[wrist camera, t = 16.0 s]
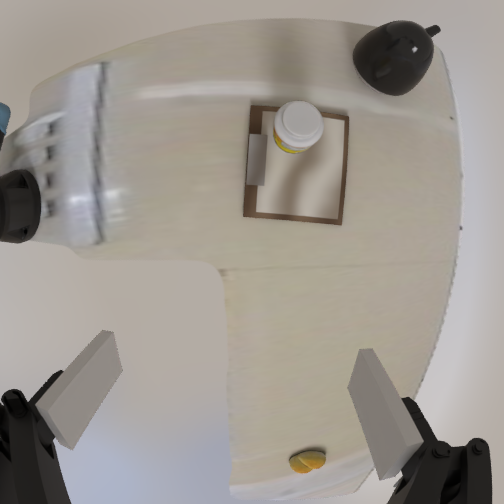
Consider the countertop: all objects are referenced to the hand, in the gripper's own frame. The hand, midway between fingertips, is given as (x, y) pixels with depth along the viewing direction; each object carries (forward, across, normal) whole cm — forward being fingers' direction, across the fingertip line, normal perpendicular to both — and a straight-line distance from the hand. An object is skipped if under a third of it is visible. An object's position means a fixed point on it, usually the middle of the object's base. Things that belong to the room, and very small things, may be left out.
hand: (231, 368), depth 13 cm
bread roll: (+27, +16, -54) cm, 62 cm away
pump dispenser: (+27, +18, +29) cm, 44 cm away
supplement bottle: (+27, +5, +16) cm, 32 cm away
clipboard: (+27, +6, +12) cm, 30 cm away
